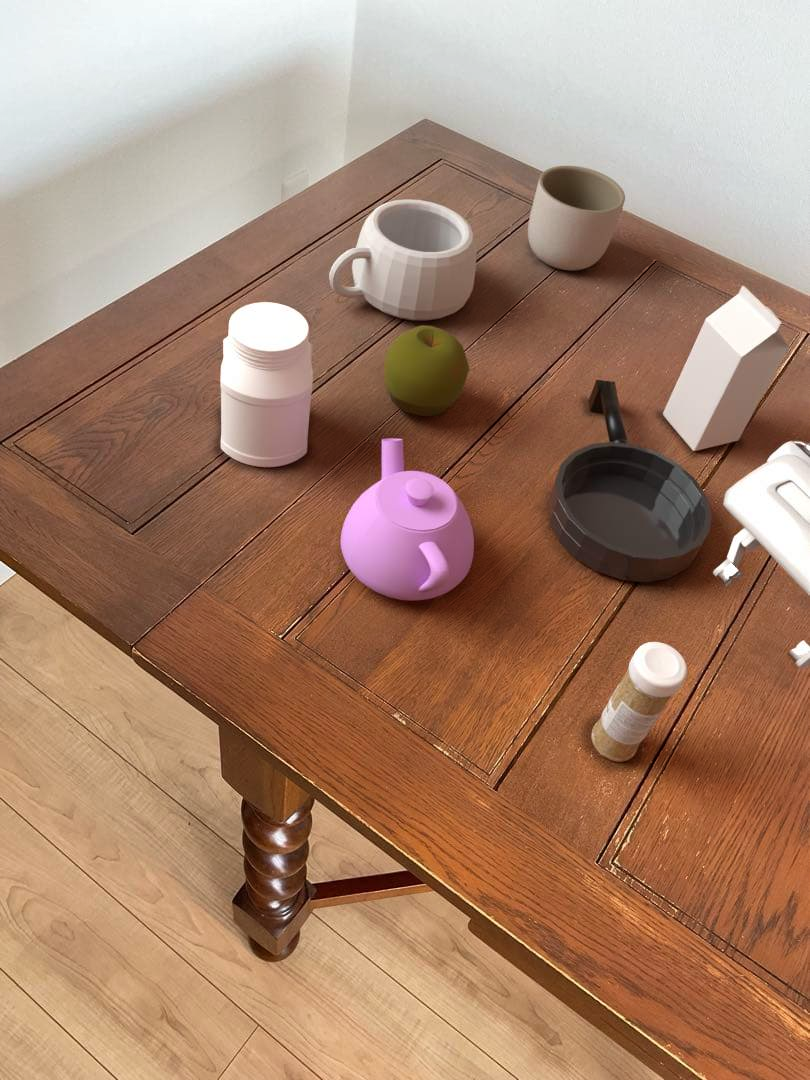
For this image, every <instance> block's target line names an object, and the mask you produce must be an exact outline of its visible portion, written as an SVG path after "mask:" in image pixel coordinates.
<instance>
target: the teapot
mask: <svg viewBox="0 0 810 1080" xmlns="http://www.w3.org/2000/svg"><path fill="white" fill-rule="evenodd" d="M404 455H405V454H404V439H402V438H382V439H381V479H380V480H379V481H377V482H375V483H374V484H373V485H371V486H369V488H367V489H366V490H365V491H364V492H362V493H361V495H359V497H358V498H357V499H356V500H355V502H354V503H353V504H352V506H351V507H350V509H349V511H348V513H347V515H346V517H345V519H344V521H343V524H342V529H341V535H340V549H341V553H342V556H343V559H344V562H345V564H346V566H347V567H348V569H349V571H350V572H351V573H352V574H353V576H354V577H355V578H356V579H357V580H358V581H359V582H360V583H362V584H363V585H364V586H366V587H367V588H368V589H370V590H372V591H373V592H375V593H377V594H379V595H382V596H384V597H387V598H390V599H396V600H401V601H413V602H414V601H425V600H429V599H434V598H437V597H441V596H442V595H445V594H447V593H449V592H450V591H452V590H453V589H455V588H456V587H457V586H458V585H459V584H460V583H461V582H463V580H465V578H466V576H467V575H468V573H469V572H470V569H471V566H472V563H473V558H474V554H475V553H474V551H475V538H474V529H473V526H472V522H471V519H470V516H469V513H468V512H467V510H466V508H465V506H464V504H463V503H462V500H461V499H460V498H459V496H458V494H457V493H456V492H455V491H454V489H453V488H451V486H450V485H449V484H448V483H447V482H446V481H444V480H443V479H441V478H440V477H437V475H434V474H431V473H428V472H424V471H419V470H405V461H404V460H405V459H404V458H405V457H404Z"/></svg>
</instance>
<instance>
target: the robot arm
mask: <svg viewBox="0 0 810 1080" xmlns="http://www.w3.org/2000/svg"><path fill="white" fill-rule="evenodd" d="M800 446H801V447H802V449H801V447H800ZM722 503H723V508H725V510H726V511H727V512H728V513H729V514H730V515H731V516H732V518H734V519H735V520H736V521H737V522H738V523H739V524H740V526H742V529H741V530H740V531H739V532H738V533H736V534H735V535H734V536H733V538H732V540H731V544H730V547H729V550H728V553H727V555H726V559H725V560H724V561H723V562H722V563H720V565H718V566H717V567H716V568H715V569H714V570H713V571H712V574H713V576H715V577H716V578H717V579H718V581H719V582H720V583H721V584H722V585H723V586H724V587H725V588H729V587H731V586H732V585H733V584H734V583H735V581H738V580H739V579H740V578H742V576H743V575H744V574H743V573H742V572H741V571H740V570H739V569H738V568H739V565H740V563H741V560H742V558H743V555H744V553H745V550H746V551H747V552H748V553H752V552H754V551H755V550H756V549H757V548H759V546H761V547H762V548H763V549H764V550H765V551H766V552H767V554H768V555H770V557H771V558H772V559H773V560H775V562H776V563H777V564H778V565H780V567H781V568H783V570H784V571H785V572H786V573H787V574H788V575H789V576H790V577H791V578H792V579H793V580H794V581H795V582H796V583H797V584H798V585H799V587H800V588H802V590H803V591H805V592H806V594H808V596H810V442H805V441H802V440H790V441H787V442H785V443H783V444H782V445H781V446H779V447H778V449H776V450H775V451H774V452H773V453H771V454H770V455H769V457H768V458H767V460H766V461H765V463H763V464H761V465H760V466H759V467H757V468H755V469H754V470H752V471H751V472H749V473H748V474H746V475H745V476H743V477H742V478H741V479H739V480H738V481H737V482H735V483H734V484H733V485H732V486H730V487H729V488H728V489H727V490H726V491H725V494H724V498H723V502H722ZM787 657H789V659H791V660H792V662H793V663H794V664H795V665H796V666H797V667H798V669H800V670H804V669H806V668H807V667H808V666H810V645H809V644H808V643H807V642H806V641H805V640H802V641H800V642H799V643H798V644H797V645H796V647H795V648H792V649H790V650H789V651H788V652H787Z"/></svg>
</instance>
